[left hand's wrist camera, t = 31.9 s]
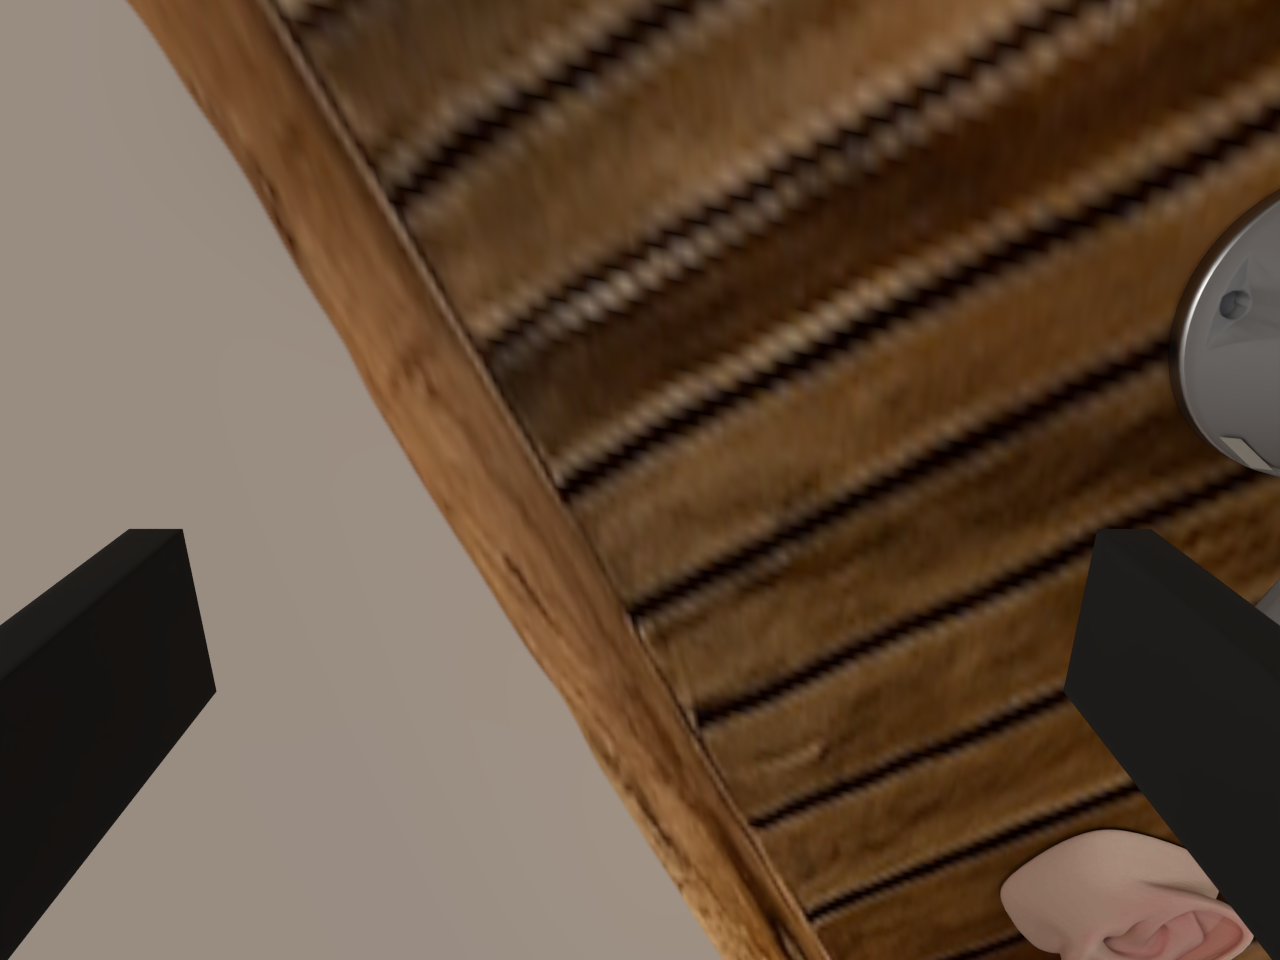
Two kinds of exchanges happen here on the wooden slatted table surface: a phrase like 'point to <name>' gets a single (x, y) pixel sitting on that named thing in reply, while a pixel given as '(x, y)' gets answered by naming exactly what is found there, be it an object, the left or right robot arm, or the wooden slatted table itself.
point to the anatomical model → (1122, 902)
